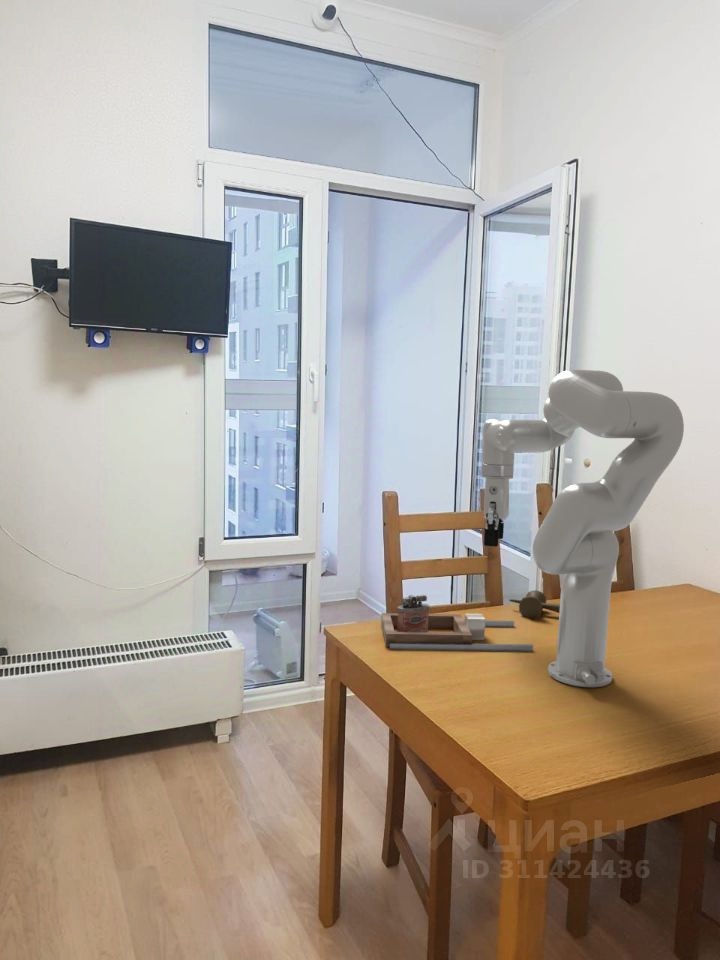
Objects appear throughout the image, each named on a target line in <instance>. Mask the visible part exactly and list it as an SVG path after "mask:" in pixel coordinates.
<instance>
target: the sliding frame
mask: <svg viewBox="0 0 720 960" xmlns="http://www.w3.org/2000/svg"><path fill="white" fill-rule="evenodd" d="M380 616H381V619H380V624H381V625H380V626H381V631H382V635H383V641H384V645H385V647H386V648H389V646H390V642H400V643H465V644H473V641H485V632H486V627H485V620H486V618H485V616H484V615H483V614H482V613H464V618H463V617H462V615H461V614H454V613H453V614H452V613H451V614H445V613H444V614H443V613H440V614H439V613H436V614H435V613H428V629H452V630H453V632H437V631H436V632H434V631H433V632H431V631H428V632H397V631H395V628H397V626H398V612H397V613H396V612H395V613H393V612H392V613H391V612H390V613H387V612H386V613H384V612H383V613H381V615H380ZM464 620H465V622H464Z"/></svg>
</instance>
